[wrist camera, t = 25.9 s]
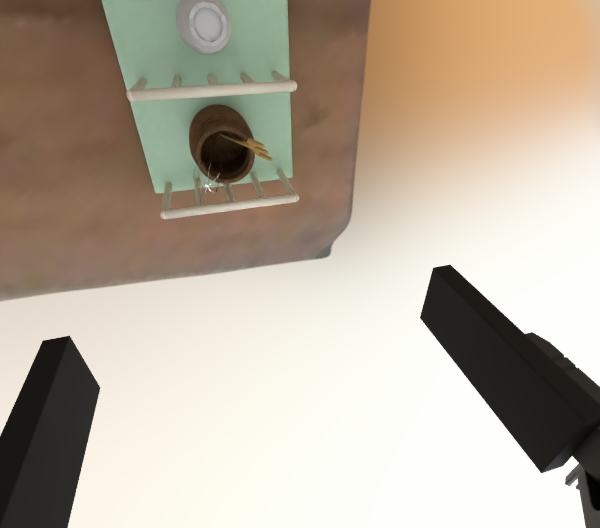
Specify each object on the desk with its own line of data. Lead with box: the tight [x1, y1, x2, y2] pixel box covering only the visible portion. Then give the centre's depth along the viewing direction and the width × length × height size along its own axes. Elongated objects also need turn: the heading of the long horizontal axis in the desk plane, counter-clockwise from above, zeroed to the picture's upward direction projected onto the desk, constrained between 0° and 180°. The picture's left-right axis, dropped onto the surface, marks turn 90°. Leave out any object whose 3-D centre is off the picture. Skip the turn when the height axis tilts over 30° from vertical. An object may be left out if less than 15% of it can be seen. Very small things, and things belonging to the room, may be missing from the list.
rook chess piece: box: [176, 0, 231, 54], centre depth 26 cm, size 4×4×8 cm
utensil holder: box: [189, 105, 274, 194], centre depth 30 cm, size 6×6×12 cm
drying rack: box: [101, 0, 299, 219], centre depth 30 cm, size 20×15×8 cm
